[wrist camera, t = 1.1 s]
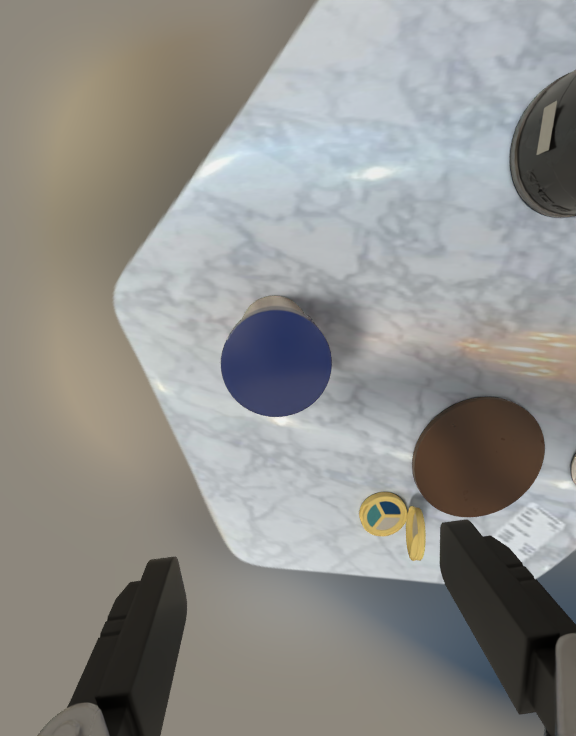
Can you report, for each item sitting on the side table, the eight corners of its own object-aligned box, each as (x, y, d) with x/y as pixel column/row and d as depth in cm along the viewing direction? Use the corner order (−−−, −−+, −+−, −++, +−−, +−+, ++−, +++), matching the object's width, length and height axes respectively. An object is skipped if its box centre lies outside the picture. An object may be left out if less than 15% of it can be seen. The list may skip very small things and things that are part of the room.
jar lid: (267, 282, 19) (267, 284, 18) (347, 347, 21) (355, 355, 19) (204, 365, 21) (198, 375, 19) (284, 422, 22) (285, 436, 20)
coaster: (478, 370, 31) (482, 372, 31) (566, 446, 34) (571, 449, 33) (385, 469, 33) (387, 473, 33) (473, 534, 36) (477, 538, 35)
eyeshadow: (361, 491, 34) (376, 528, 29) (414, 492, 34) (437, 529, 29) (357, 531, 35) (370, 572, 30) (407, 531, 35) (429, 572, 31)
